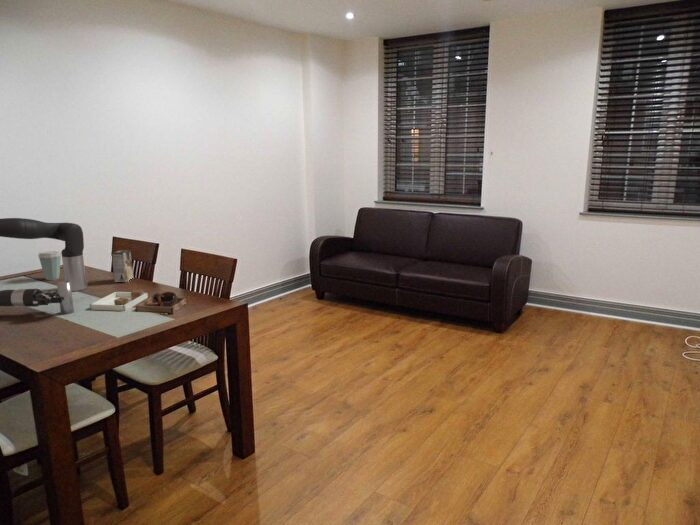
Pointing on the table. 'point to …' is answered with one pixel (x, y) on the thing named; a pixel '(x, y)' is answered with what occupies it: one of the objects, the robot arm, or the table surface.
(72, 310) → the part cylinder
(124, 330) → the table surface
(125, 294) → the tray
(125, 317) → the table surface
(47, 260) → the disposable coffee cup
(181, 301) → the brown wooden tray
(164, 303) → the pottery mug
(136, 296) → the walnut block
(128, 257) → the coffee box
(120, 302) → the walnut block
